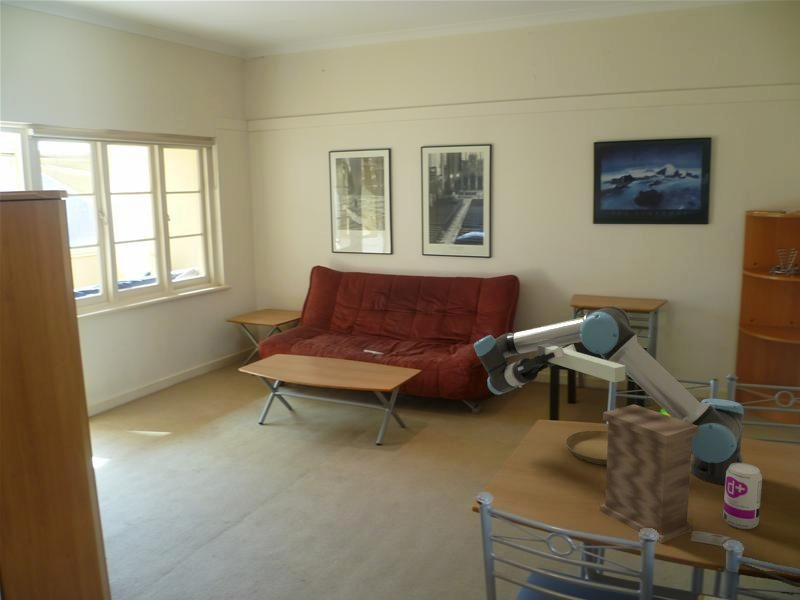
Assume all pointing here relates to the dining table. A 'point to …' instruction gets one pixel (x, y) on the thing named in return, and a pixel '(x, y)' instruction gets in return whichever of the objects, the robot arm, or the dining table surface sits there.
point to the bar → (587, 364)
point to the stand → (648, 470)
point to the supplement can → (742, 495)
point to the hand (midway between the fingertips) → (568, 349)
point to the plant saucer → (589, 445)
